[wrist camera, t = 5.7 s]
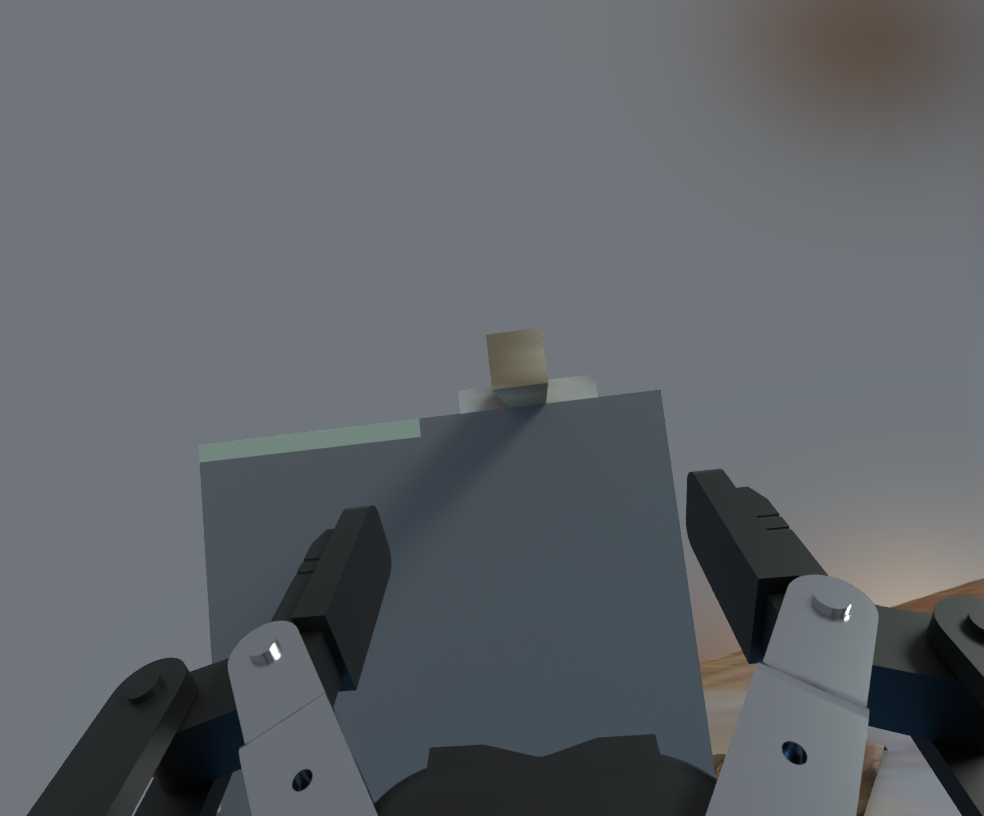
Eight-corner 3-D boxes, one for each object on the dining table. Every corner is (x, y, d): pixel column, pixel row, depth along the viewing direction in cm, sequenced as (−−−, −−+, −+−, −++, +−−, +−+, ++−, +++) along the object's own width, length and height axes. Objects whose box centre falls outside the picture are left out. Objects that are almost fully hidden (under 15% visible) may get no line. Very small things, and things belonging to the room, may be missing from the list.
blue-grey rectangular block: (682, 850, 35) (622, 406, 38) (755, 1061, 23) (660, 389, 26) (334, 861, 37) (301, 444, 40) (236, 1058, 25) (198, 445, 28)
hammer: (584, 410, 37) (581, 384, 37) (634, 372, 17) (626, 316, 17) (480, 422, 38) (477, 397, 38) (410, 399, 18) (405, 345, 18)
